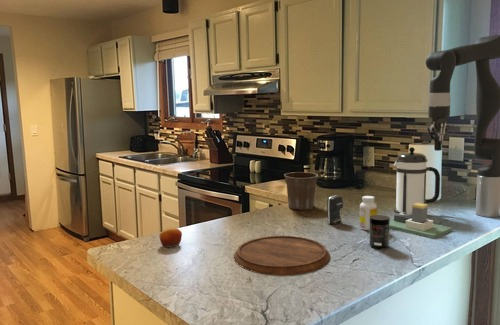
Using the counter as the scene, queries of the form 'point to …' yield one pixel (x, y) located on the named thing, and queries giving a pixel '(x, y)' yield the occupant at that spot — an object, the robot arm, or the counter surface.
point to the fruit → (170, 237)
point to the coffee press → (413, 181)
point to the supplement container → (379, 231)
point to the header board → (417, 226)
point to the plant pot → (301, 189)
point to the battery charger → (334, 209)
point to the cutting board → (282, 255)
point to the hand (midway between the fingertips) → (437, 150)
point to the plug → (419, 212)
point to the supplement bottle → (367, 211)
